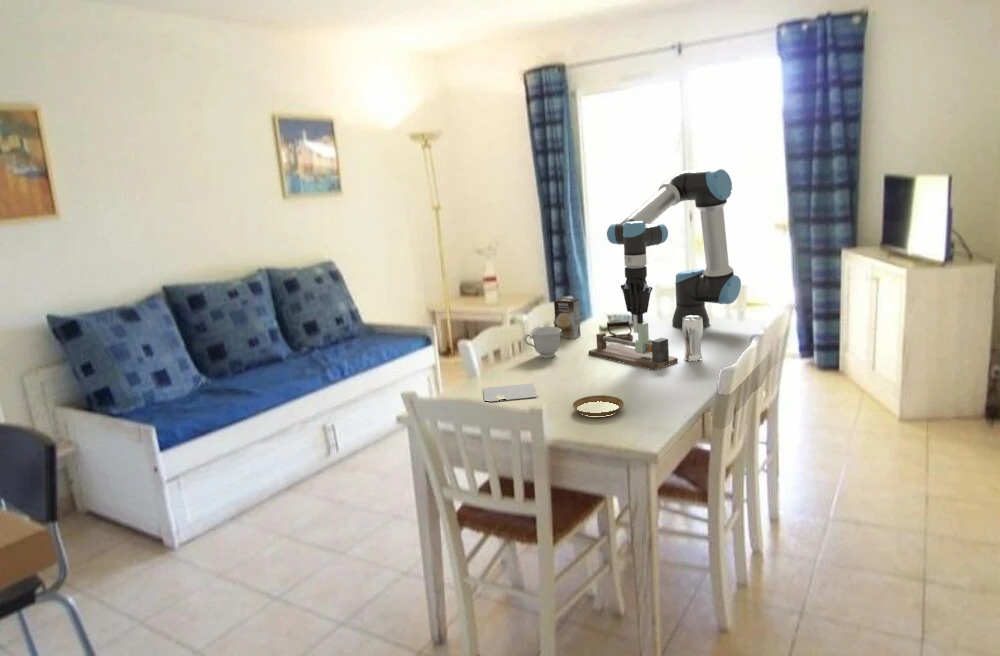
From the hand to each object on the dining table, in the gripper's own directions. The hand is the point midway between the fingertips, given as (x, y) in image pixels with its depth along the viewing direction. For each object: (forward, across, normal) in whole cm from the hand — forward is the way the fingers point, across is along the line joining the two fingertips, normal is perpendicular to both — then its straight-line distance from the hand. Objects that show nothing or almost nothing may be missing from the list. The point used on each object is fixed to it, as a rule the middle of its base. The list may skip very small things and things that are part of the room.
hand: (637, 331), depth 243 cm
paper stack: (+11, -9, -47) cm, 49 cm away
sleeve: (+7, +2, 0) cm, 7 cm away
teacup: (+11, -31, -18) cm, 38 cm away
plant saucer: (+11, +26, -46) cm, 54 cm away
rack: (+10, -4, 0) cm, 11 cm away
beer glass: (+11, +14, +12) cm, 22 cm away
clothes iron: (+11, -25, +16) cm, 32 cm away
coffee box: (+11, -46, +8) cm, 48 cm away
